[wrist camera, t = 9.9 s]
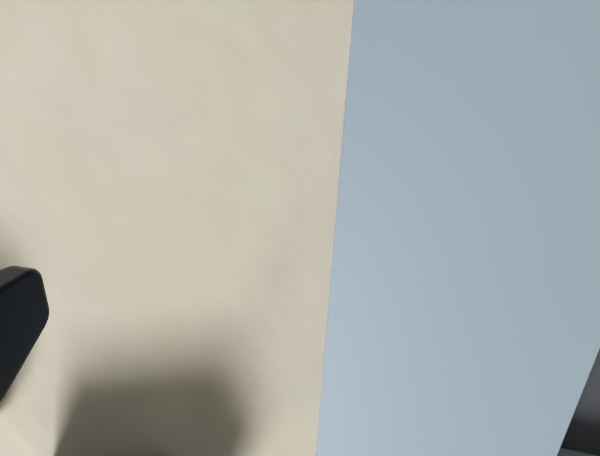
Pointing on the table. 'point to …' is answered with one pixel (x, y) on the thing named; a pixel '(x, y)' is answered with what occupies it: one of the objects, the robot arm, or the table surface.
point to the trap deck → (467, 233)
